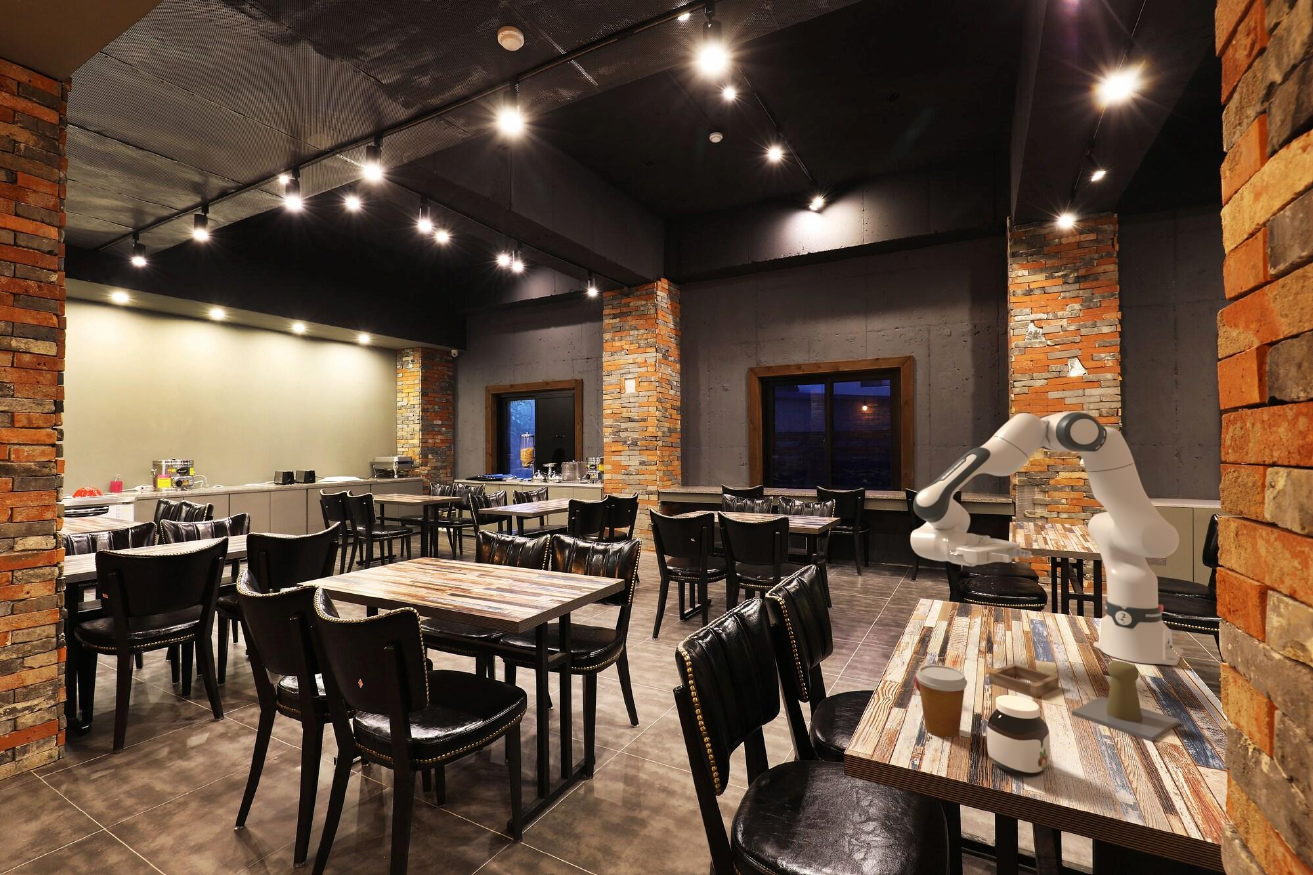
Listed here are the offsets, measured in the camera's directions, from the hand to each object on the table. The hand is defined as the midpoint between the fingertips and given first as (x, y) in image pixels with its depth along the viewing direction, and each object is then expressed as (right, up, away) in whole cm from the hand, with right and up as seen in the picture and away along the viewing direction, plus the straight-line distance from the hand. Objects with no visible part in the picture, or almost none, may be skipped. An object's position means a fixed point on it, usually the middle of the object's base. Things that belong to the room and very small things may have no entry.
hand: (1020, 556), depth 151 cm
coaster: (+7, -30, -25) cm, 39 cm away
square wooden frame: (-3, -30, -6) cm, 31 cm away
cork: (+7, -29, -25) cm, 39 cm away
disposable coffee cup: (-34, -30, -29) cm, 54 cm away
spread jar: (-26, -30, -41) cm, 57 cm away
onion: (-29, -30, -13) cm, 44 cm away
